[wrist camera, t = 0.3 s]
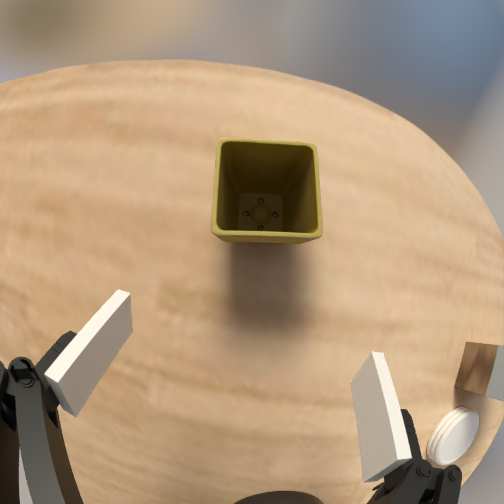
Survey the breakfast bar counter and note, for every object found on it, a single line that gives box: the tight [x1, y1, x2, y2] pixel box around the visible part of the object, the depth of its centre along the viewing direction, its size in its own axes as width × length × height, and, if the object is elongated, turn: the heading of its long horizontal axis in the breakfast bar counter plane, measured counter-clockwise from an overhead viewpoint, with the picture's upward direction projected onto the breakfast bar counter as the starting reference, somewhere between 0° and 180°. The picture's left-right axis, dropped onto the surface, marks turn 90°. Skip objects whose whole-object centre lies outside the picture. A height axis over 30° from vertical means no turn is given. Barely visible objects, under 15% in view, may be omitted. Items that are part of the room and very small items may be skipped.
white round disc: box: [427, 407, 479, 466], centre depth 25 cm, size 10×10×4 cm
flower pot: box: [211, 138, 323, 244], centre depth 26 cm, size 9×9×9 cm
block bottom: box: [455, 342, 498, 396], centre depth 25 cm, size 7×7×7 cm
